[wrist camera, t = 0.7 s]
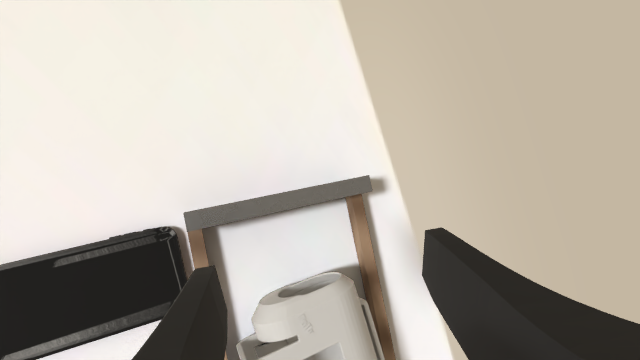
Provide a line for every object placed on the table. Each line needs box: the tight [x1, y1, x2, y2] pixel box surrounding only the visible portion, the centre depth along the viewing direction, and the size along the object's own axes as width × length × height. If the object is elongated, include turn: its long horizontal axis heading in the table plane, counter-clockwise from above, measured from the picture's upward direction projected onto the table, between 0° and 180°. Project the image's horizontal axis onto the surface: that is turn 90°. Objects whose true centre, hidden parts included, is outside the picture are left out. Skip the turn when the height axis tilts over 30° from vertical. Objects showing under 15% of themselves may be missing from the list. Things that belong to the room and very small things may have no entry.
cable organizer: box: [236, 272, 385, 360], centre depth 33 cm, size 7×12×12 cm
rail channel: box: [184, 175, 396, 360], centre depth 34 cm, size 21×17×4 cm
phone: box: [0, 227, 187, 360], centre depth 30 cm, size 8×1×15 cm
